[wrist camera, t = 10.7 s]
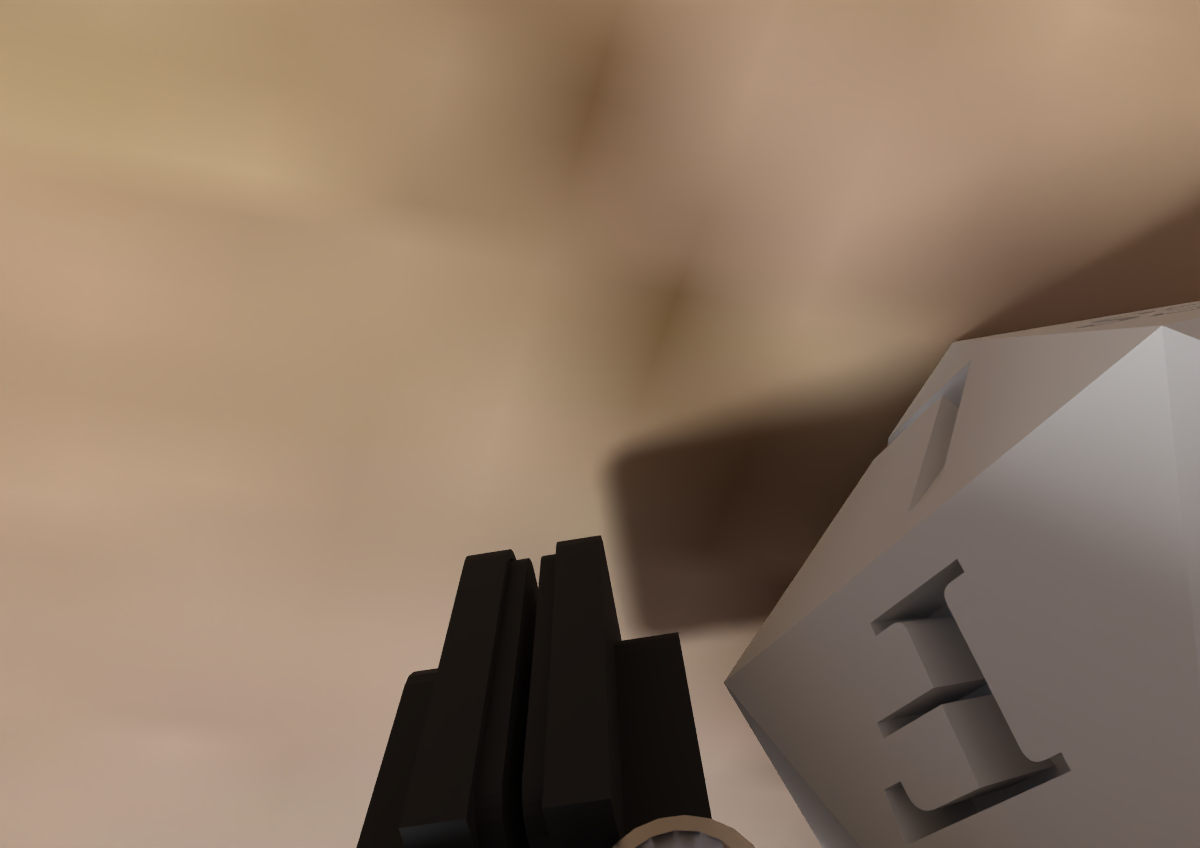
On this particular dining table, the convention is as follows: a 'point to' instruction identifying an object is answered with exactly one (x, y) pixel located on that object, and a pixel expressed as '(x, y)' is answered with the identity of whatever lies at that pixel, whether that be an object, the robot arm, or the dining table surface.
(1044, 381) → the die
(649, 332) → the dining table surface
